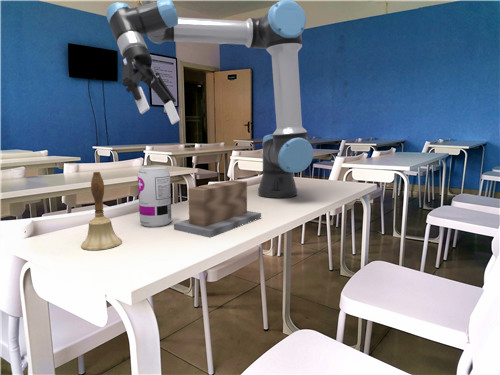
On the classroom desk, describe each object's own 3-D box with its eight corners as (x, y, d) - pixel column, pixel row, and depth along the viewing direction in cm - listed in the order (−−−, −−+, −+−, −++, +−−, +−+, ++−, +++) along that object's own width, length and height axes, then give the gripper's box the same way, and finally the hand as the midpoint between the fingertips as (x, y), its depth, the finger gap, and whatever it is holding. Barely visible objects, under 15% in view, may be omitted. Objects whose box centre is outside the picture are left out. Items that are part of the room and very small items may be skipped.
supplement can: (140, 228, 88) (136, 170, 86) (140, 220, 96) (137, 166, 94) (172, 226, 91) (170, 169, 88) (170, 218, 99) (168, 166, 96)
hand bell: (75, 244, 76) (69, 172, 74) (112, 236, 82) (107, 169, 80) (89, 253, 71) (83, 175, 68) (128, 244, 76) (124, 172, 74)
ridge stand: (227, 212, 106) (227, 178, 104) (261, 218, 99) (261, 181, 97) (173, 229, 88) (172, 188, 86) (209, 237, 81) (209, 192, 80)
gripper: (153, 75, 112) (177, 131, 108) (91, 42, 89) (118, 113, 85) (171, 61, 110) (196, 119, 105) (111, 25, 87) (141, 97, 82)
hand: (161, 117), depth 95 cm, fingers open, 13 cm apart
